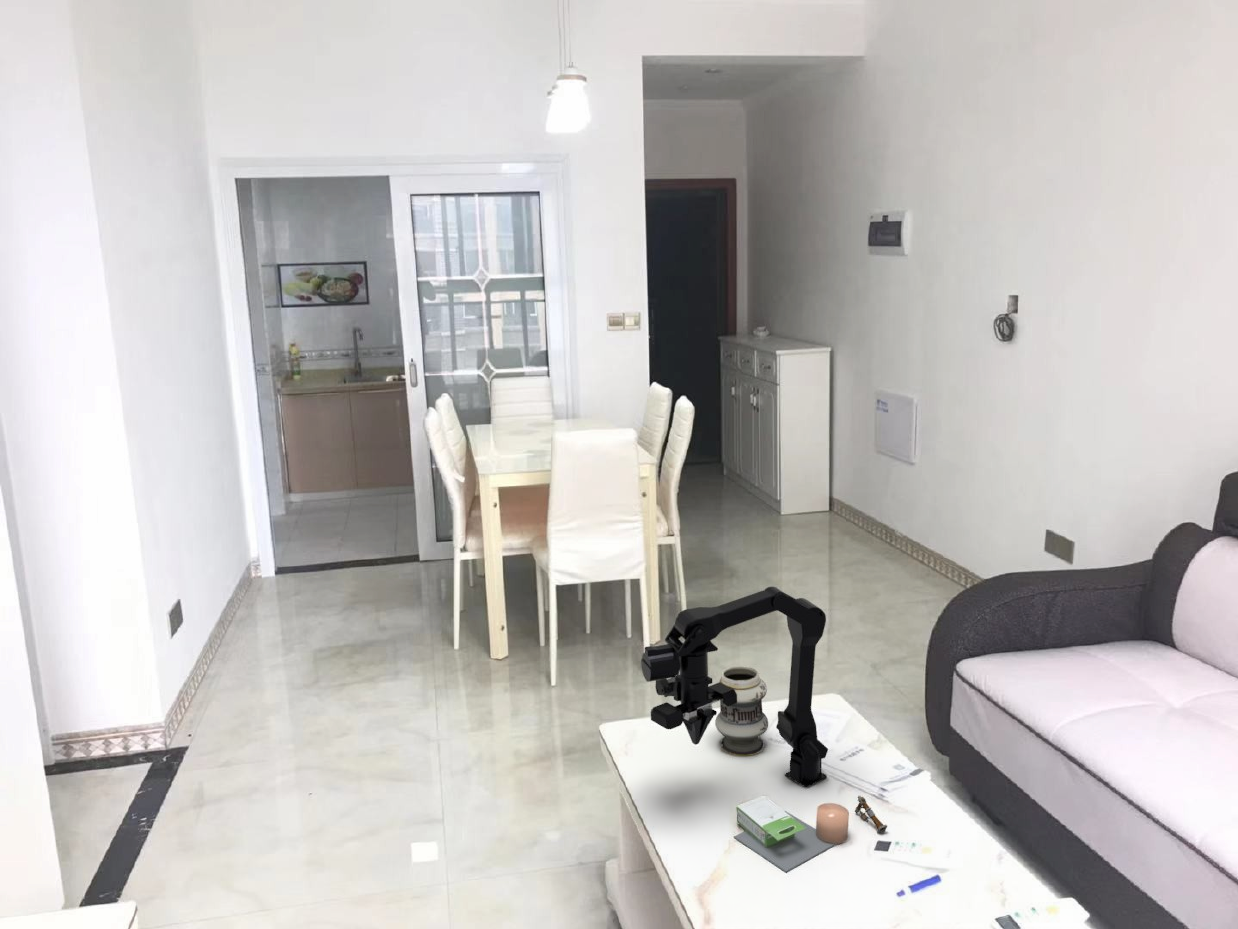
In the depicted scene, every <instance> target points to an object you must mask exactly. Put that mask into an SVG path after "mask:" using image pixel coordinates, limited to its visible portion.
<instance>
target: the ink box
mask: <svg viewBox="0 0 1238 929" xmlns="http://www.w3.org/2000/svg"><path fill="white" fill-rule="evenodd" d="M785 811H786V810H784V809H782V808H781V807H780V806H779V805H777V804H776V803H774V802H773V801H772V800H770V799H769V798H768V797H767V796H765V795H762V796H759V797H756V798H755V799H754V798H753V799H752V800H749V801H746V802H744V803H741V804H739V805H736V822H737V824H738V825H739V826H741V828H743V829H744V831H748V832H749V833H750V834H751V835H752V836H753V837H755V838H756V839H757V840H758V841H759V842H760V843H761V844H763V845H764V846H765V847H768V846H771V845H773V844H776V843H778V842H781V841H783V840H786V839H788V838H791V837H793V836H794V833H797V832H799V831H801V830H804V829H806V828H805V827H804V826H803V825H801V824H800V823H798V822H797V821H796V820H794V818H792V817H791V816H790V815H789V814H787V813H786V812H787V811H786V812H785ZM794 827H795V828H794Z"/></svg>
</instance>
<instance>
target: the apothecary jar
mask: <svg viewBox="0 0 1238 929" xmlns="http://www.w3.org/2000/svg"><path fill="white" fill-rule="evenodd" d="M721 672H722V673H721V677H720V678H719V679H718V680H717V681H716V683H719V682H720V683H722V684H724V685H726V686H728V687H730V688H733V689H734V690H735V691H736V693H737V703H736V704H733V705H731V706H726V705H725V704H723V699H721V700H720V701H719V702H720V704H719V705H720V706H719V707H720V708H719V709H720V711H719V712H718V713H717V714H716V717H715V721H714V723H715V724H714V725H715V728H716V730H717V731H718V733H720V734H721V735H722V736H723V738H722V739H721V741H720V745H721V750H723V751H724V752H725V753H727V754H730V755H733V756H737V757H748V756H753V755H755V754H758V753H760V752H761V751H762V750H763V748H764V747H765V746H764V745H765V744H764V742H763V740H762V739H761V738H760V736H762V735H763V734H764V733H765V732H767V730H768V728H769V719H768V717H767V715H766V714H765V713H764V712H763V701H762V700H763V699H764V698H765V696H766V695H767V691H768V688H767V685H766V683H765V681H764V680H763V679H762V678H760V673H759V671H758V670H757V669H756V668H753V667H751V666H747V665H733V666H729V667H725V669H723V670H722V671H721Z"/></svg>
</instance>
